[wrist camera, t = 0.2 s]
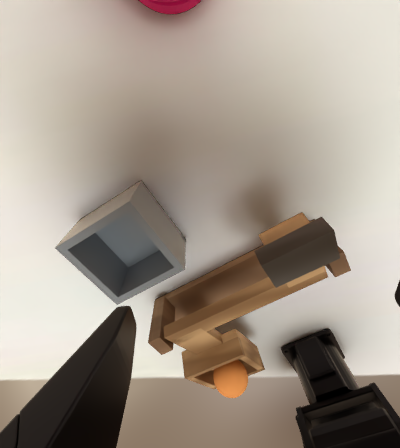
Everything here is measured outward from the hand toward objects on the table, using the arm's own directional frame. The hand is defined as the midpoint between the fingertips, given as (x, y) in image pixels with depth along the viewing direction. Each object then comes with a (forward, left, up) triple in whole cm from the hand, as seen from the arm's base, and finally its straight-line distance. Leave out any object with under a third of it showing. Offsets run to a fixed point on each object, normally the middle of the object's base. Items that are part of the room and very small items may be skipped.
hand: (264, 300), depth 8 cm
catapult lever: (-11, +4, -10) cm, 15 cm away
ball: (-17, +9, -8) cm, 21 cm away
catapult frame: (-10, +3, -13) cm, 17 cm away
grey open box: (0, +9, -14) cm, 16 cm away
